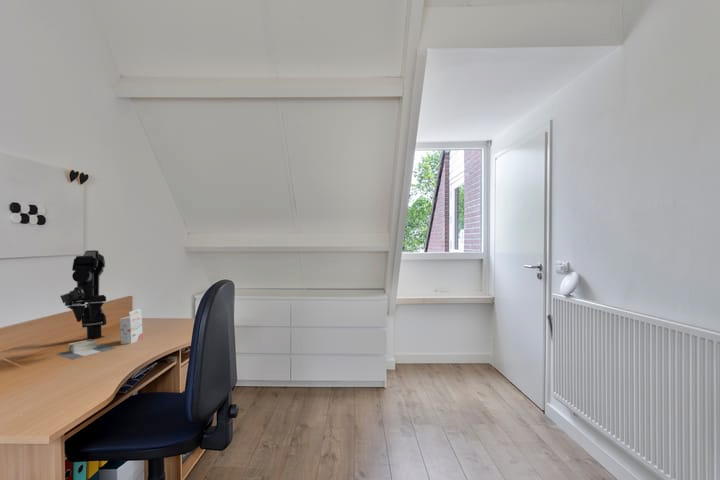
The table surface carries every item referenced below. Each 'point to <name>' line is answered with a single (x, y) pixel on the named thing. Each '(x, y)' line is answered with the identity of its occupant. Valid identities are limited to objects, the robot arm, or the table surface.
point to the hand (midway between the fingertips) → (85, 321)
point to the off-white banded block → (82, 345)
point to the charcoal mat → (86, 352)
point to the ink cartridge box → (131, 327)
